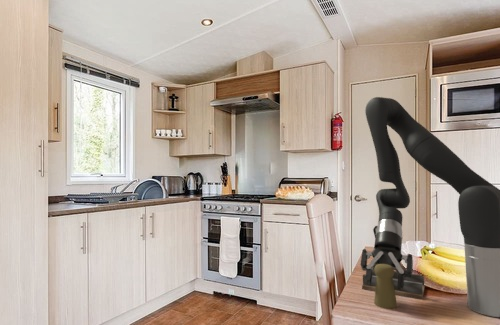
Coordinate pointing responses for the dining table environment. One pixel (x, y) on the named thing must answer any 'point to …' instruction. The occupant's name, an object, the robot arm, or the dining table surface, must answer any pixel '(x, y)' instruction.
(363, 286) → the walnut track
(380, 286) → the olive waisted cylinder
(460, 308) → the dining table surface
